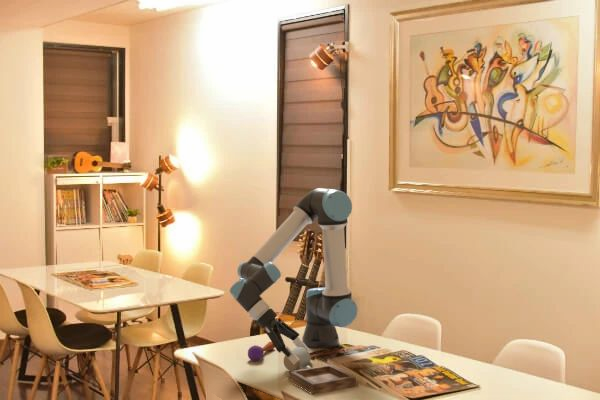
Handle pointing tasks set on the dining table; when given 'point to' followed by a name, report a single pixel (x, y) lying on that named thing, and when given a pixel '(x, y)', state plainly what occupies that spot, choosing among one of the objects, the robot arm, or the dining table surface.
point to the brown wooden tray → (322, 379)
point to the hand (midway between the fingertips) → (302, 357)
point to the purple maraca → (259, 351)
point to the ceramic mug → (301, 363)
